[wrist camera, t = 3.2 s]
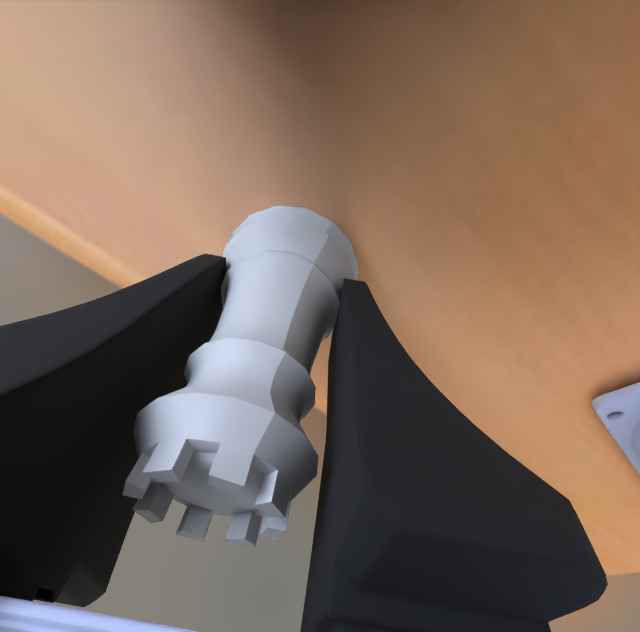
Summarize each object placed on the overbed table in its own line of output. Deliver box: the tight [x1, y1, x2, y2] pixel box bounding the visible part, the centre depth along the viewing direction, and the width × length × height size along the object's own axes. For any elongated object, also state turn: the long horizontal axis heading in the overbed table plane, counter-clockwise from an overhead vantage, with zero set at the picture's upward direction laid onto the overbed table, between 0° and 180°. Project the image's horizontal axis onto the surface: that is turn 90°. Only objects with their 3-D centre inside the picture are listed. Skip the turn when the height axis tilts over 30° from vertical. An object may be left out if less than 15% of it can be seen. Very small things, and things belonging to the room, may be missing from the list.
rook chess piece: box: [123, 205, 359, 546], centre depth 8 cm, size 4×4×8 cm
